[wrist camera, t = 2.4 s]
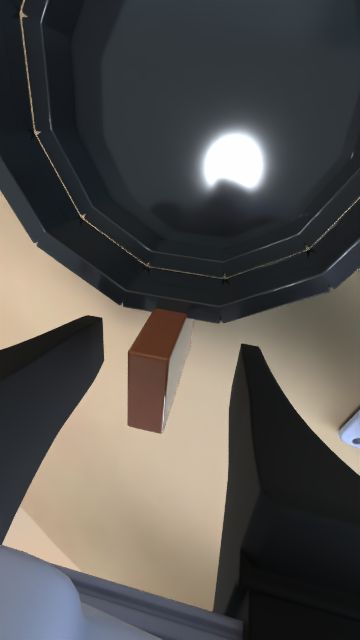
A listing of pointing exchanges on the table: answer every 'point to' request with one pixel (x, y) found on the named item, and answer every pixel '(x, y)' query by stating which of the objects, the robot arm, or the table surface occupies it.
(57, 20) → the black cooking pot
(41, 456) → the robot arm
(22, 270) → the table surface
